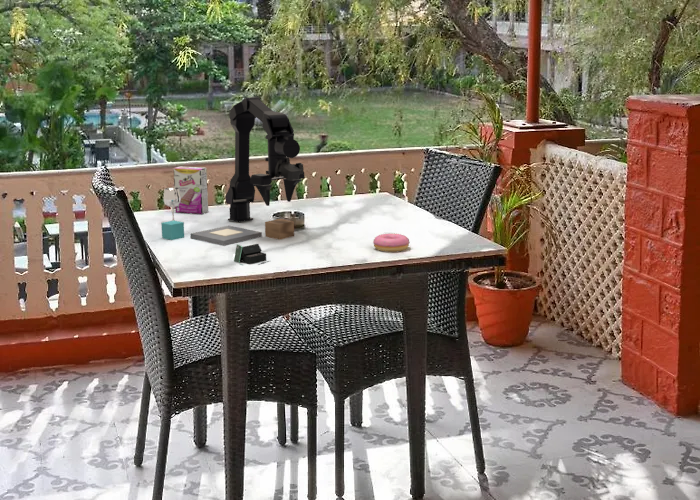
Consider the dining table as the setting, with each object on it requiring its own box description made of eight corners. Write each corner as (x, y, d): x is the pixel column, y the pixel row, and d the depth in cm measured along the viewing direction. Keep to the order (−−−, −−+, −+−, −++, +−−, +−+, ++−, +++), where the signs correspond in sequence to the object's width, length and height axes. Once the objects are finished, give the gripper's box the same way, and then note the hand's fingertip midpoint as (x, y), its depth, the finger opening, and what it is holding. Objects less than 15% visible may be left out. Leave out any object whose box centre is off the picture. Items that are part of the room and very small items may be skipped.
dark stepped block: (257, 253, 284) (256, 235, 283) (289, 262, 274) (288, 243, 272) (215, 262, 274) (215, 243, 273) (247, 271, 264) (246, 252, 262)
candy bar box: (174, 213, 344) (172, 167, 340) (181, 210, 348) (179, 166, 344) (202, 214, 340) (200, 169, 336) (209, 212, 345) (207, 167, 341)
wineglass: (174, 225, 322) (172, 190, 319) (161, 223, 325) (159, 189, 322) (185, 222, 327) (183, 188, 324) (173, 220, 330) (171, 186, 327)
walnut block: (280, 233, 309) (279, 218, 308) (294, 236, 305) (293, 221, 304) (265, 237, 304) (264, 221, 303) (279, 240, 300) (279, 224, 299)
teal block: (174, 235, 308) (173, 220, 307) (184, 237, 304) (183, 222, 303) (162, 238, 304) (161, 222, 303) (171, 240, 301) (171, 224, 300)
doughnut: (398, 243, 294) (398, 230, 293) (416, 250, 285) (416, 237, 284) (366, 247, 289) (366, 234, 288) (384, 254, 280) (384, 241, 279)
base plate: (229, 229, 315) (228, 224, 314) (261, 236, 304) (261, 231, 304) (190, 238, 303) (190, 232, 303) (223, 245, 293) (223, 240, 292)
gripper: (272, 160, 286) (274, 211, 290) (316, 153, 300) (317, 202, 303) (248, 156, 294) (249, 206, 297) (291, 150, 307) (292, 198, 311)
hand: (278, 203), depth 302 cm, fingers open, 9 cm apart
